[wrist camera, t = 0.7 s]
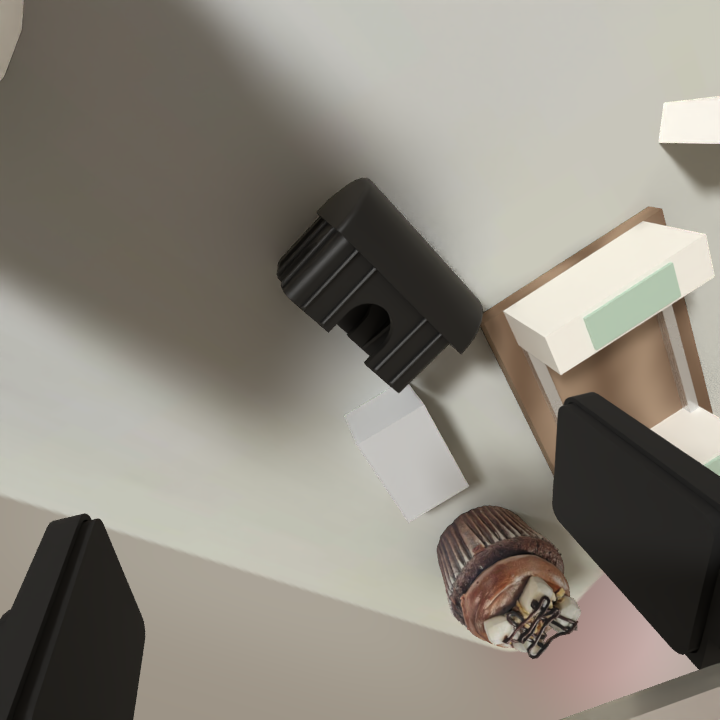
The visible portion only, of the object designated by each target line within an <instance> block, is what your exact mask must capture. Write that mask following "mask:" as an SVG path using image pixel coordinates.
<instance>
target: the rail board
mask: <svg viewBox="0 0 720 720" xmlns="http://www.w3.org/2000/svg"><path fill="white" fill-rule="evenodd" d="M642 221H645V222H650V223H655V224H659V225H664V226H666V223H665V219H664V215H663V211H662V209H660V208H654V207H647V208H646V209H644V210H643V211H641V212H639V213H638V214H636V215H635V216H633V217H632V218H630V219H629V220H627V221H625V222H624V223H622V224H621V225H619V226H618V227H616V228H615V229H613V230H611V231H610V232H608V233H607V234H605V235H604V236H602V237H601V238H599V239H597V240H596V241H594V242H593V243H591V244H590V245H588V246H587V247H585V248H583V249H582V250H580V251H579V252H577V253H576V254H574V255H573V256H571V257H569V258H568V259H566V260H565V261H563V262H562V263H560V264H559V265H557V266H556V267H554V268H552V269H551V270H549V271H548V272H546V273H545V274H543V275H542V276H540V277H538V278H537V279H535V280H534V281H532V282H531V283H529V284H528V285H526V286H524V287H523V288H521V289H520V290H518V291H517V292H515V293H514V294H512V295H510V296H509V297H507V298H506V299H504V300H503V301H501V302H500V303H498V304H496V305H495V306H493V307H492V308H490V309H489V310H487V311H486V312H484V313H483V316H482V322H481V325H480V326H481V328H482V331H483V333H484V335H485V337H486V339H487V341H488V343H489V345H490V347H491V349H492V351H493V353H494V355H495V357H496V359H497V361H498V363H499V365H500V367H501V369H502V371H503V373H504V375H505V377H506V380H507V382H508V384H509V386H510V388H511V390H512V392H513V394H514V396H515V398H516V400H517V402H518V404H519V406H520V408H521V410H522V412H523V414H524V416H525V418H526V420H527V422H528V424H529V426H530V429H531V431H532V433H533V435H534V437H535V439H536V441H537V443H538V445H539V447H540V449H541V451H542V453H543V455H544V457H545V459H546V461H547V463H548V465H549V467H550V469H551V471H552V473H553V475H554V467H555V451H556V434H557V425H556V423H555V421H554V419H553V416H552V414H551V412H550V410H549V408H548V405H547V403H546V401H545V399H544V397H543V394H542V392H541V390H540V388H539V386H538V383H537V381H536V379H535V377H534V375H533V372H532V370H531V368H530V366H529V363H528V361H527V359H526V357H525V355H524V352H523V350H522V348H521V347H520V346H519V345H518V343H517V341H516V338H515V336H514V334H513V332H512V330H511V327H510V325H509V323H508V321H507V319H506V316H505V314H504V312H503V311H504V310H505V309H507V308H509V307H510V306H512V305H513V304H515V303H516V302H518V301H519V300H521V299H523V298H524V297H526V296H527V295H529V294H530V293H532V292H533V291H535V290H537V289H538V288H540V287H541V286H543V285H544V284H546V283H547V282H549V281H551V280H552V279H554V278H555V277H557V276H558V275H560V274H561V273H563V272H565V271H566V270H568V269H569V268H571V267H572V266H574V265H575V264H577V263H579V262H580V261H582V260H583V259H585V258H586V257H588V256H589V255H591V254H593V253H594V252H596V251H597V250H599V249H600V248H602V247H603V246H605V245H607V244H608V243H610V242H611V241H613V240H614V239H616V238H617V237H619V236H621V235H622V234H624V233H625V232H627V231H628V230H630V229H631V228H633V227H635V226H636V225H638V224H639V223H641V222H642ZM672 307H673V311H674V315H675V318H676V322H677V326H678V330H679V334H680V337H681V341H682V345H683V349H684V353H685V356H686V360H687V364H688V368H689V372H690V375H691V379H692V383H693V387H694V391H695V394H696V398H697V402H698V406H699V407H701V408H703V409H705V410H706V411H708V412H710V413H712V414H713V412H712V408H711V404H710V400H709V396H708V392H707V388H706V384H705V380H704V376H703V372H702V368H701V364H700V360H699V356H698V352H697V348H696V344H695V340H694V336H693V332H692V328H691V324H690V320H689V316H688V311H687V307H686V303H685V299H684V297H682V298H681V299H679V300H678V301H676V302H674V303H673V304H672ZM545 365H546V364H545ZM546 367H547V369H548V371H549V374H550V376H551V378H552V381H553V383H554V385H555V388H556V390H557V392H558V394H559V397H560V399H561V401H562V404H564V401H565V399H567V398H568V397H572V396H576V395H580V394H585V393H589V392H595V393H597V394H599V395H600V396H602V397H603V398H605V399H606V400H608V401H609V402H611V403H612V404H614V405H615V406H617V407H618V408H620V409H621V410H623V411H624V412H626V413H627V414H629V415H630V416H632V417H633V418H634V419H636V420H637V421H639V422H640V423H642V424H643V425H645V426H646V427H648V428H649V429H651V428H652V427H654V426H655V425H657V424H658V423H660V422H662V421H663V420H665V419H666V418H668V417H669V416H671V415H673V414H674V413H676V412H677V411H679V410H680V409H682V405H681V401H680V398H679V394H678V390H677V387H676V383H675V380H674V376H673V373H672V369H671V366H670V362H669V359H668V355H667V352H666V348H665V345H664V341H663V338H662V334H661V331H660V327H659V324H658V320H657V317H656V315H654V316H653V317H651V318H649V319H648V320H646V321H645V322H643V323H642V324H640V325H639V326H637V327H635V328H634V329H632V330H631V331H629V332H628V333H626V334H624V335H623V336H621V337H620V338H618V339H617V340H615V341H614V342H612V343H610V344H609V345H607V346H606V347H604V348H603V349H601V350H599V351H598V352H596V353H595V354H593V355H592V356H590V357H589V358H587V359H585V360H584V361H582V362H581V363H579V364H578V365H576V366H574V367H573V368H571V369H570V370H568V371H567V372H565V373H564V374H562V375H560V374H558V373H557V372H556V371H554V370H553V369H551V368H550V367H549V366H547V365H546Z"/></svg>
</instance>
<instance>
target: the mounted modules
mask: <svg viewBox="0 0 720 720" xmlns="http://www.w3.org/2000/svg"><path fill="white" fill-rule="evenodd" d="M643 222H644V223H643ZM713 277H715V275H714V270H713V266H712V261H711V256H710V251H709V246H708V242H707V237H706V234H703V233H698V232H693V231H689V230H684V229H679V228H674V227H669V226H664V225H659V224H655V223H650V222H645V221H642V222H641V223H639V224H638V225H636V226H635V227H633V228H631V229H630V230H628V231H627V232H625V233H624V234H622V235H621V236H619V237H617V238H616V239H614V240H613V241H611V242H610V243H608V244H607V245H605V246H603V247H602V248H600V249H599V250H597V251H596V252H594V253H593V254H591V255H589V256H588V257H586V258H585V259H583V260H582V261H580V262H579V263H577V264H575V265H574V266H572V267H571V268H569V269H568V270H566V271H565V272H563V273H561V274H560V275H558V276H557V277H555V278H554V279H552V280H551V281H549V282H547V283H546V284H544V285H543V286H541V287H540V288H538V289H537V290H535V291H533V292H532V293H530V294H529V295H527V296H526V297H524V298H523V299H521V300H519V301H518V302H516V303H515V304H513V305H512V306H510V307H509V308H507V309H505V310H504V311H503V312H504V314H505V316H506V319H507V321H508V323H509V325H510V327H511V330H512V332H513V334H514V336H515V338H516V341H517V343H518V345H519V346H520V347H522V348H523V349H525V350H526V351H528V352H529V353H530V354H532V355H533V356H535V357H536V358H537V359H539V360H540V361H542V362H543V363H544V364H546V365H547V366H549V367H550V368H551V369H553V370H554V371H556V372H557V373H558V374H560V375H562V374H564V373H565V372H567V371H568V370H570V369H571V368H573V367H574V366H576V365H578V364H579V363H581V362H582V361H584V360H585V359H587V358H589V357H590V356H592V355H593V354H595V353H596V352H598V351H599V350H601V349H603V348H604V347H606V346H607V345H609V344H610V343H612V342H614V341H615V340H617V339H618V338H620V337H621V336H623V335H624V334H626V333H628V332H629V331H631V330H632V329H634V328H635V327H637V326H639V325H640V324H642V323H643V322H645V321H646V320H648V319H649V318H651V317H653V316H654V315H656V314H657V313H659V312H660V311H662V310H663V309H665V308H667V307H668V306H670V305H671V304H673V303H674V302H676V301H678V300H679V299H681V298H682V297H684V296H685V295H687V294H688V293H690V292H692V291H693V290H695V289H696V288H698V287H699V286H701V285H703V284H704V283H706V282H707V281H709V280H710V279H712V278H713ZM651 430H652V431H654V432H655V433H657V434H658V435H660V436H661V437H663V438H664V439H666V440H667V441H669V442H670V443H671V444H673V445H674V446H676V447H677V448H679V449H680V450H682V451H683V452H685V453H686V454H688V455H689V456H691V457H692V458H694V459H695V460H697V461H698V462H700V463H701V464H703V465H704V466H706V467H707V468H709V469H710V470H711V471H713V472H714V473H716V474H717V475H719V476H720V418H719V417H717V416H715V415H714V414H712V413H710V412H708V411H706V410H705V409H703V408H701V407H699V408H697V409H696V410H694V411H693V412H691V413H690V412H688V411H686V410H685V409H683V408H682V409H680V410H679V411H677V412H676V413H674V414H673V415H671V416H669V417H668V418H666V419H665V420H663V421H662V422H660V423H658V424H657V425H655V426H654V427H652V428H651Z"/></svg>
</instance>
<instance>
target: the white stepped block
mask: <svg viewBox="0 0 720 720" xmlns="http://www.w3.org/2000/svg"><path fill="white" fill-rule="evenodd" d="M659 143H704V144H720V96H716V97H707V98H699V99H691V100H682V101H674V102H666V103H664V105H663V113H662V120H661V128H660V135H659Z"/></svg>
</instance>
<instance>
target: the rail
mask: <svg viewBox="0 0 720 720" xmlns="http://www.w3.org/2000/svg"><path fill="white" fill-rule="evenodd" d="M643 223H644V222H643ZM656 317H657V320H658V324H659V327H660V331H661V334H662V338H663V341H664V345H665V348H666V352H667V355H668V359H669V362H670V366H671V369H672V373H673V376H674V380H675V383H676V387H677V390H678V394H679V398H680V401H681V405H682V408H683V409H685V410H686V411H688V412H690V413H691V412H693V411H694V410H696V409H697V408H699V406H698V402H697V398H696V394H695V391H694V387H693V383H692V379H691V375H690V372H689V368H688V364H687V360H686V356H685V353H684V349H683V345H682V341H681V337H680V334H679V330H678V326H677V322H676V318H675V315H674V311H673V307H672V304H671V305H670V306H668V307H667V308H665V309H663V310H662V311H660V312H659V313H657V314H656ZM521 348H522V347H521ZM522 350H523V352H524V355H525V357H526V359H527V361H528V363H529V366H530V368H531V370H532V372H533V375H534V377H535V379H536V381H537V383H538V386H539V388H540V390H541V392H542V394H543V397H544V399H545V401H546V403H547V405H548V408H549V410H550V412H551V414H552V416H553V419H554V421H555V423H556V425H557V417H558V410H559V408H560V407H561V406H563V404H562V401H561V399H560V397H559V394H558V392H557V390H556V388H555V385H554V383H553V381H552V378H551V376H550V374H549V371H548V369H547V367H546V365H545V364H544V363H543V362H542V361H540V360H539V359H537V358H536V357H535V356H533V355H532V354H530V353H529V352H528V351H526V350H525V349H523V348H522Z"/></svg>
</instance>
